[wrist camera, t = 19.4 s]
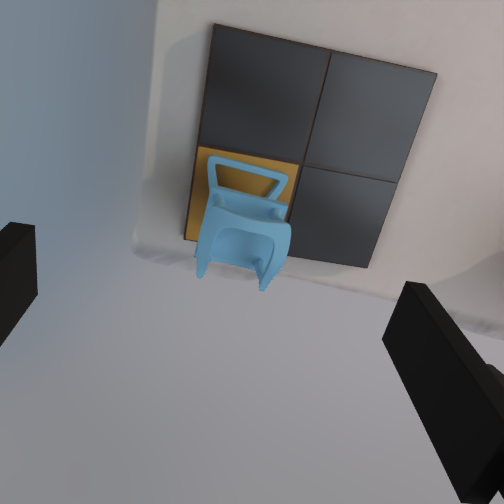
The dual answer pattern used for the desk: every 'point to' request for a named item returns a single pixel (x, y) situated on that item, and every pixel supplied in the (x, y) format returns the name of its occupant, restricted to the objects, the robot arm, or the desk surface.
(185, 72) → the desk surface
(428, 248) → the desk surface
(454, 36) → the desk surface
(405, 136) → the board
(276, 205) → the chair
